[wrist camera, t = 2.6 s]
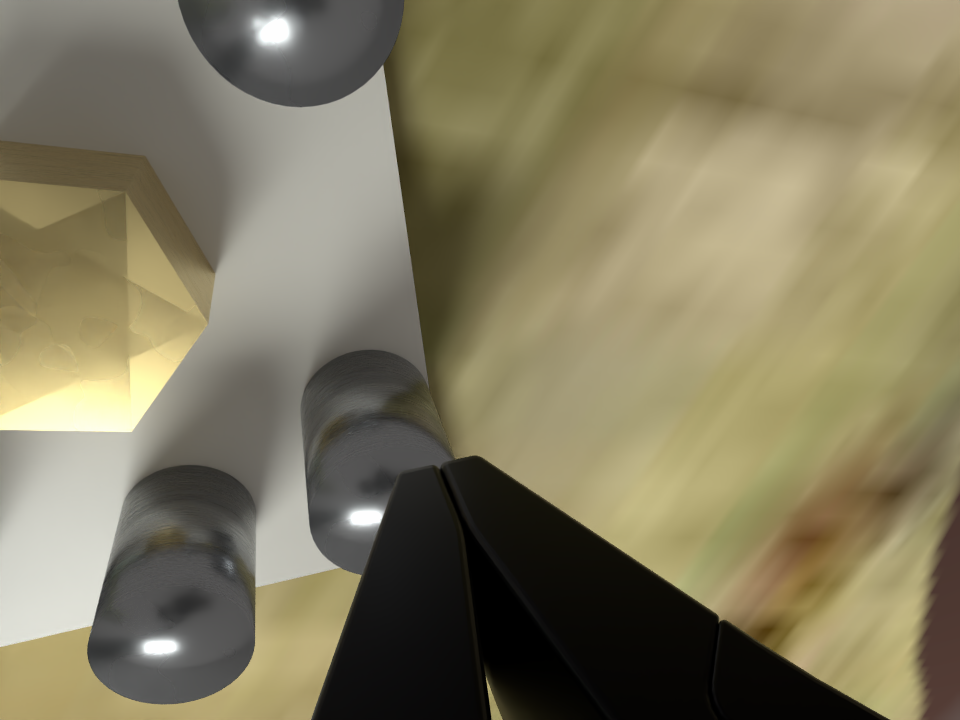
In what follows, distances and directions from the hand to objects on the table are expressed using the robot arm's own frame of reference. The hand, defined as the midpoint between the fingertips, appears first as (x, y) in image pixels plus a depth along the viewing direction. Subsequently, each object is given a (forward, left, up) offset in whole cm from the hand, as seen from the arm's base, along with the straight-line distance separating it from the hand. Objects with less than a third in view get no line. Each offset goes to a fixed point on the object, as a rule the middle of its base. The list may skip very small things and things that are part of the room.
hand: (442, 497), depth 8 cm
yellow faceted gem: (-5, 0, -10) cm, 11 cm away
